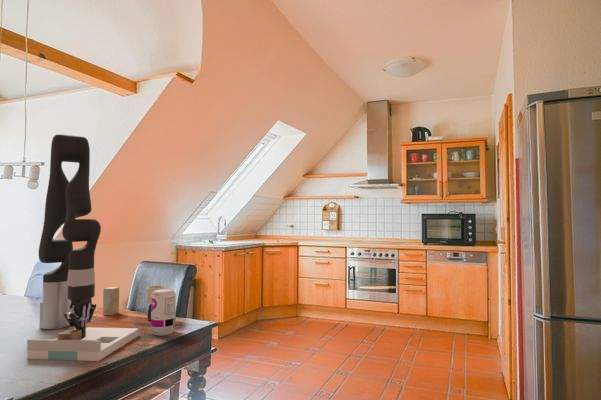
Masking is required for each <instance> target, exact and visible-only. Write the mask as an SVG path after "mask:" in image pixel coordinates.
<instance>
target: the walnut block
mask: <svg viewBox="0 0 601 400" xmlns="http://www.w3.org/2000/svg"><path fill="white" fill-rule="evenodd" d="M57 337H58V340H82V330H74V329H66V330H64V331H61V332H59V333H57Z"/></svg>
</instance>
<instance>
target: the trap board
mask: <svg viewBox="0 0 601 400" xmlns="http://www.w3.org/2000/svg"><path fill="white" fill-rule="evenodd" d="M73 330H76V328H74V329H73ZM139 336H140V328H133V327H131V328H130V327H127V328H126V327H92V326H91V327H87V326H86V337H85V338H83V339H82V340H58V336H57V337H54V338H51V339H50V338H47V339H43V338H29V339H27V340H26V341H27V343H26V345H27V346H26V352H27V353H26V356H27V357H26V360H53V361H54V360H55V361H56V360H57V361H85V362H88V361H90V362H95V361H96V362H99V361H101V360H102V359H104V358H105V357H107V356H109V355H110V354H112V353H114V352H116V351H117V350H118V349H120V348H122V347H123V346H125V345H126V344H129V343H130V342H131V341H133V340H134V339H136V338H138V337H139ZM113 351H114V352H113Z"/></svg>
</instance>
